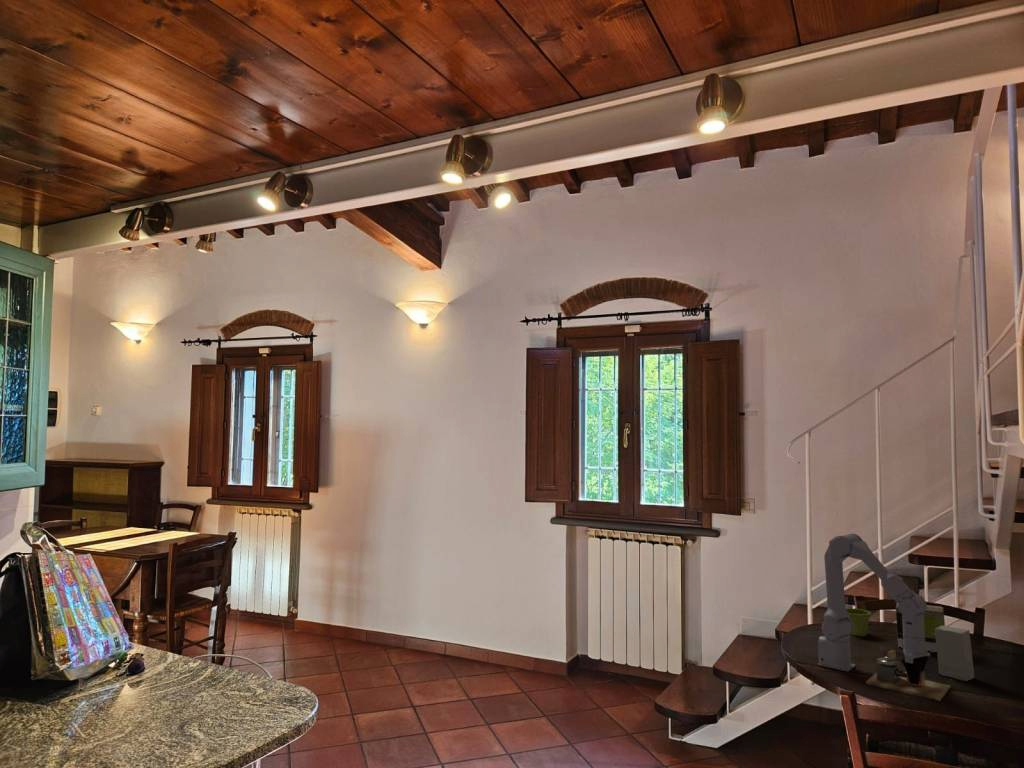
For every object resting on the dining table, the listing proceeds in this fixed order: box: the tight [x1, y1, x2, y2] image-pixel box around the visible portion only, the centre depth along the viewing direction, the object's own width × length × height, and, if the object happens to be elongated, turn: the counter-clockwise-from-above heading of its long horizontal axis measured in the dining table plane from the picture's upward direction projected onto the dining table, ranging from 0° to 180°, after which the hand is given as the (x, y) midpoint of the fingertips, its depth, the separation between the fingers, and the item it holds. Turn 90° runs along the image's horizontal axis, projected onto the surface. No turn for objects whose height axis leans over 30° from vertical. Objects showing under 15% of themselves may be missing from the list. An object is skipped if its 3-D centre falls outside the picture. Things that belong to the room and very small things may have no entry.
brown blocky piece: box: [896, 669, 926, 687], centre depth 205 cm, size 12×4×4 cm, turn 46°
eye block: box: [875, 662, 902, 684], centre depth 207 cm, size 5×7×5 cm
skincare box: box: [935, 625, 975, 682], centre depth 212 cm, size 8×6×15 cm
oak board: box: [866, 672, 951, 702], centre depth 203 cm, size 20×14×1 cm
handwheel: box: [876, 649, 900, 666], centre depth 208 cm, size 8×6×3 cm
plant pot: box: [845, 608, 872, 637], centre depth 258 cm, size 9×9×9 cm
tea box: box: [895, 602, 946, 653], centre depth 241 cm, size 15×10×15 cm, turn 58°
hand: (916, 681), depth 202 cm, fingers closed on brown blocky piece, 4 cm apart
